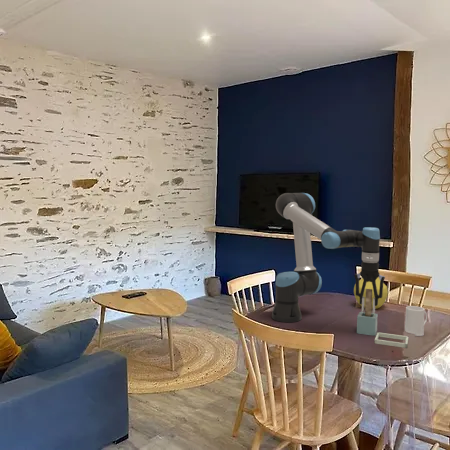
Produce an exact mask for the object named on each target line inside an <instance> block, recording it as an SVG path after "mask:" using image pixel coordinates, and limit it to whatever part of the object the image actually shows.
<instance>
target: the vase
mask: <svg viewBox="0 0 450 450" xmlns="http://www.w3.org/2000/svg"><path fill="white" fill-rule="evenodd" d="M363 281H364V280H363V278H362V277H361V279H359V293H361V289H362V285H363ZM375 281H376V287H377V293H378V295H379V290H380V281H381V280H379V277H378V278H377V279H376V280H375ZM366 289H372V310H373V298H375V296H374V291H373V285H372V282H367V283H366V286H365V290H364V294H363V297H365V301H366ZM388 292H389V291H388V286H387V285H386V284H385V283H384V282H383V294H382V298H379V299H378V305H377V306H375V310H376V309H380V308H381V307H382V306H383V305H384V304H385V302H386V300H387V298H388ZM353 294H354V295H353V296H354V297H355V300H356V303H357V305H359V306H360V307H361V308H362V304H360V297H359V296H356V283H355V284H354V287H353ZM365 301H364V309H365Z"/></svg>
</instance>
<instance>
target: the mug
mask: <svg viewBox="0 0 450 450" xmlns="http://www.w3.org/2000/svg"><path fill="white" fill-rule="evenodd" d="M427 321H428V314H427V311H426V310H425V308H424V307H422V306H416V305H408V306H405V323H404V332H406V333H408V334H413V335H414V337H423V336H424V335H425V325H426V323H427Z"/></svg>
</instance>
